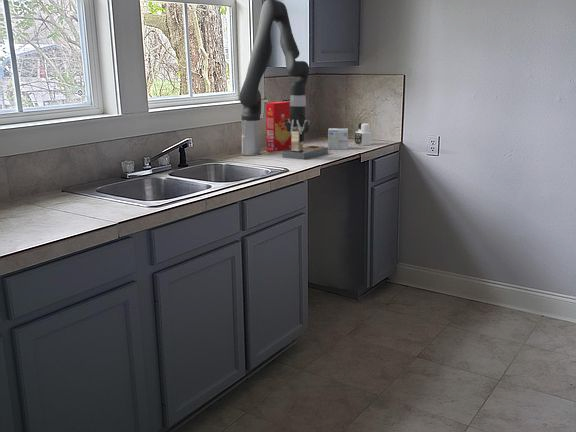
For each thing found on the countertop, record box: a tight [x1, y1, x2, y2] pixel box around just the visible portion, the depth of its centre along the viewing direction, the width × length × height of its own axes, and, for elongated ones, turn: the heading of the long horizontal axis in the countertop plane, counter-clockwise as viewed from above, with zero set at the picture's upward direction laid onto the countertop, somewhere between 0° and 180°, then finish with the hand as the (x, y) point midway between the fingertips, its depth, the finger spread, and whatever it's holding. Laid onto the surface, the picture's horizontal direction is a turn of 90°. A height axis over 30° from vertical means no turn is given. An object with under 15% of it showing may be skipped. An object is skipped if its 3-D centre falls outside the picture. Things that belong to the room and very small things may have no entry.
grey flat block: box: [282, 145, 329, 161], centre depth 287 cm, size 22×12×4 cm, turn 145°
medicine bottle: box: [354, 122, 373, 146], centre depth 329 cm, size 7×7×12 cm
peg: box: [291, 130, 304, 151], centre depth 280 cm, size 4×4×9 cm
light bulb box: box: [327, 127, 349, 150], centre depth 314 cm, size 11×7×11 cm, turn 84°
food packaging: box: [265, 101, 292, 153], centre depth 307 cm, size 15×5×25 cm, turn 143°
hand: (297, 141), depth 280 cm, fingers closed on peg, 4 cm apart
